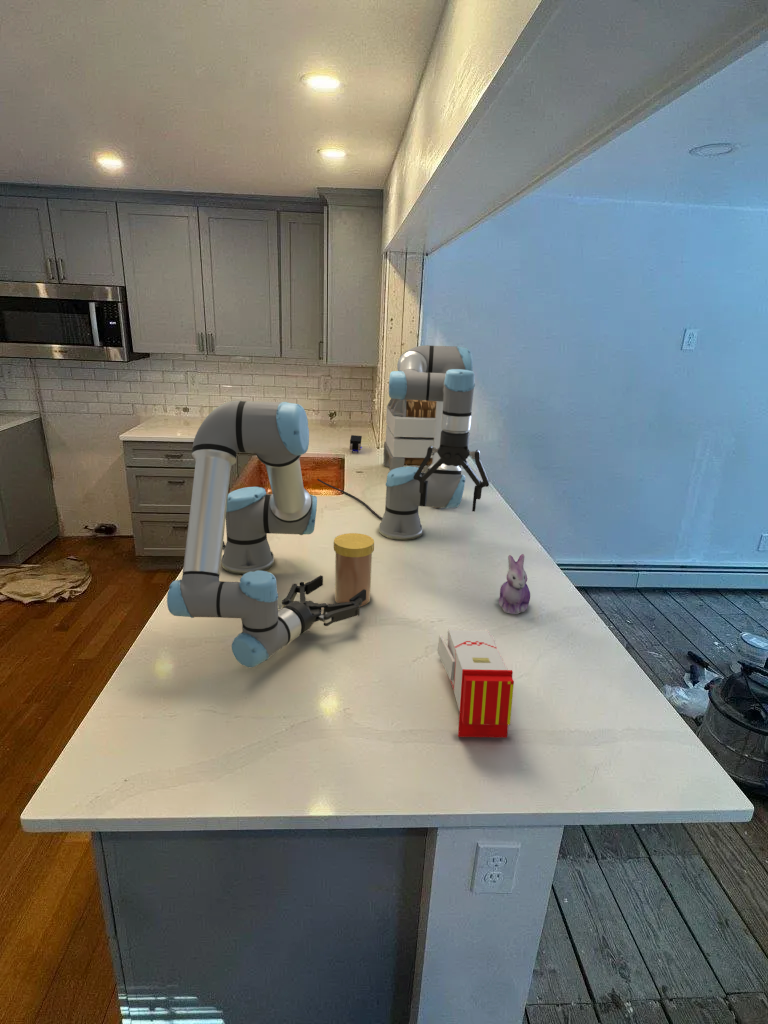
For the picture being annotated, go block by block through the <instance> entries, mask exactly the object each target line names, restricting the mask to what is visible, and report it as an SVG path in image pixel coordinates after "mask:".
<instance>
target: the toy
mask: <svg viewBox="0 0 768 1024" xmlns="http://www.w3.org/2000/svg"><path fill="white" fill-rule="evenodd" d="M446 640H447V643H446V641H445V639H444V636H443V635H442V634H439V637H438V646H437V656H438V657H439V659H440V661H441V663H442V666H443V668H444V670H445V672H446V674H447V677H448V679H449V681H450V684H451V687H452V690H453V693H454V697H455V701H456V705H457V708H458V711H459V714H458V715H459V716H458V730H457V731H458V732H457V737H458V738H508V731H509V726H510V725H511V717H512V707H513V697H514V696H513V695H514V684H515V680H514V679H513V673H514V671H513V670H512V669H508V667H507V665H506V662H505V661H504V659H503V658H502V655H501V653H500V651H499V649H498V647H497V643H496V639H495V637H494V635H493V634H491V632H490V631H489V629H467V628H466V629H465V628H463V629H461V628H460V629H459V628H448V630H447V639H446Z"/></svg>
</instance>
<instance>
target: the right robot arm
mask: <svg viewBox="0 0 768 1024" xmlns="http://www.w3.org/2000/svg"><path fill="white" fill-rule="evenodd" d="M473 365H474V364H473V355H472V351H471V350H470V349H469V348H468V347H464V346H458V345H457V346H455V345H429V344H425V345H418V346H414V347H411V348H409V349H407V350H406V351H404V352H402V354H401V355H400V357H399V358H398V360H397V365H396V367H397V370H392V371H391V372H390V373H389V377H388V378H389V379H388V396H389V397H390V399H391V398H393V399H400V400H403V399H404V400H426V401H436V415H435V430H434V445H433V446H429V448H428V450H427V455H426V457H425V458H424V460H423V462H422V463H421V465H420V466H418V467H417V466H407V465H406V466H404V467H399V468H395V469H393V470H391V471H390V470H389V471H388V473H387V475H386V482H385V487H386V488H385V489H386V490H385V504H384V505H385V507H384V508H385V509H384V513H383V515H382V517H381V516H380V515H379V514H378V513H376V512H375V511H374V510H373V509H372V508H371V507H370V506H369V505H368V504H367V503H365V501H363V500H361V499H360V498H358V497H356V496H354V495H352V494H351V493H348V492H346V491H344V490H343V489H340V488H337V487H335V486H333V485H331V484H329V483H327V482H325V481H322V480H321V479H319V478H317V480H316V481H318V482H319V483H322V484H323V485H325V486H327V487H329V488H332V489H334V490H336V491H338V492H341V493H343V494H345V495H347V496H349V497H351V498H353V499H354V500H356V501H358V502H359V503H361V504H362V505H364V506H365V507H366V508H367V509H368V510H369V511H370V513H372V514H374V515H375V517H377V518H378V519H379V520H381V522H379V525H378V533H379V534H380V535H381V536H382V537H385V538H387V539H389V540H395V541H410V540H415V539H418V538H420V537H421V536H422V535H423V525H422V524H421V517H420V515H419V507H425V508H433V507H441V508H443V509H456V508H458V507H459V506H460V504H461V502H462V499H463V495H464V491H465V484H466V476H465V475H464V474H462V469H464V471H465V472H466V473H467V475H468V476H469V478H470V480H472V482H473V483H474V489H473V498H472V508H471V512H476V508H477V500H481V498H482V490H483V488H485V487H486V488H487V487H489V486H490V480H489V477H488V475H487V472H486V470H485V467H484V464H483V462H482V459H481V451H480V449H475V450H470V449H469V445H470V437H471V435H470V434H471V433H470V432H469V431H470V430H471V426H472V425H471V424H472V411H473V401H474V392H475V387H476V382H475V379H476V375H475V372H474V369H473V368H474V367H473ZM431 455H433V461H432V464H431V465H430V466H429V465H428V466H427V471H426V472H423V470H424V469H425V467H426V466H425V465H426V464H427V462H428V461H429V459H430V457H431ZM469 457H471V459H472V460H474V462H475V465H476V468H477V470H478V472H479V474H480V478H481V479H480V478H479V476H478V475H477V474H476V472H475V471H474V470H473V468H472V466H471V465H470V464H469V462H468V461H467V459H468V458H469ZM460 465H461V468H460V467H459V466H460ZM481 480H482V481H481Z"/></svg>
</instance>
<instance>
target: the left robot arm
mask: <svg viewBox="0 0 768 1024" xmlns="http://www.w3.org/2000/svg"><path fill="white" fill-rule="evenodd" d="M309 445H310V429H309V419H308V416H307V413H306V410H305V408H304V407H303V406H302V405H301V404H299V403H293V402H289V401H250V400H248V401H246V400H230V401H227V402H225V403H222V404H221V405H219V406H217V407H215V408H214V409H213V410H211V412H210V413H209V414H208V415H207V416H206V417H205V418H204V420H203V421H202V422H201V424H200V426H199V427H198V429H197V431H196V434H195V435H194V439H193V443H192V450H191V458H192V459H193V461H194V462H195V464H194V465H195V466H194V473H193V481H192V491H191V498H190V500H191V501H190V505H189V506H190V507H189V516H188V524H187V532H186V541H185V547H184V556H183V557H184V559H183V566H182V576H181V579H178V580H177V579H175V580H173V581H172V582H171V583H170V584H169V587H168V588H169V589H168V591H167V595H166V604H167V605H166V607H167V609H168V611H169V613H170V614H171V615H172V616H174V617H183V618H191V619H194V618H223V619H241V629H242V631H241V632H240V633H238V635H236V636H235V637H234V638H233V640H232V642H231V652H232V655H233V657H234V658H235V660H236V661H237V662H238V664H240V665H242V666H244V667H245V668H255V667H256V666H258V665H260V664H262V663H264V662H266V661H267V660H269V659H270V657H272V656H274V655H275V654H276V653H277V652H279V651H280V650H281V649H283V648H284V647H286V646H287V645H288V644H290V643H291V642H293V641H295V640H296V639H297V638H299V636H301V635H303V634H304V633H306V632H307V631H308V630H310V629H311V628H312V626H313V624H314V623H316V622H319V621H321V622H323V623H322V624H323V626H324V627H328V626H330V625H332V624H334V623H337V622H340V621H345V620H347V619H351V618H355V617H358V616H360V607H361V606H360V605H362V602H363V601H365V600H366V590H364V589H363V590H362V591H361V592H359V593H358V594H356V595H355V596H354V597H352V598H351V599H349V602H343V603H337V602H336V603H328V604H327V603H326V602H322V603H318V602H314V601H312V600H307V599H306V595H307V596H308V595H309V594H311V593H313V592H314V591H316V590H317V589H319V588H321V587H322V586H324V576H323V575H321V574H320V575H319V576H317V577H315V578H314V579H312V580H309V581H307V582H306V583H305V581H299V585H298V583H292V584H291V586H290V589H289V591H288V592H287V595H286V596H285V598H283V599H282V600H281V608H279V593H278V584H277V577H276V576H275V574H273V573H271V572H270V571H267V570H269V569H270V568H272V567H273V566H274V562H275V561H274V558H275V555H274V553H273V550H272V549H271V546H270V544H269V543H270V542H269V541H268V534H270V535H271V534H275V535H277V534H278V535H299V536H303V535H312V534H313V533H314V531H315V527H316V519H317V518H316V517H317V506H318V497H317V496H316V495H312V494H310V493H309V492H308V490H307V489H306V488H304V481H303V475H302V474H303V473H302V467H301V460H300V458H301V456H302V455H305V454H306V453H307V452H308V449H309ZM238 453H244V454H245V453H246V454H255V456H256V458H257V459H258V460H259V461H260V462H261V463H262V464H264V465H265V470H266V473H267V477H268V481H269V485H270V489H271V493H267V491H266V488H264V487H260V486H247V487H242V488H238V489H235V490H232V491H230V492H229V489H230V487H229V486H230V479H231V469H232V468H231V467H232V466H233V465H235V464H236V462H237V456H238ZM225 530H226V531H225ZM225 532H226V542H225V541H224V536H225ZM223 549H224V551H223ZM221 567H222V568H223V569H224V570H225V571H227V572H228V573H232V574H235V575H242V576H241V577H240V579H239V581H223V580H221V581H220V576H221ZM297 594H299V600H298V601H297V600H295V599H296V597H297ZM359 606H360V607H359ZM322 609H323V611H322ZM322 612H323V613H322Z"/></svg>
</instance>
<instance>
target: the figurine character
mask: <svg viewBox="0 0 768 1024" xmlns="http://www.w3.org/2000/svg"><path fill="white" fill-rule="evenodd" d="M362 439H363V436H362V435H353V434H351V435H350V440H349V451H351V454H353V453H357V454H359V451H361V449H362V448H363V446H362Z"/></svg>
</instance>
